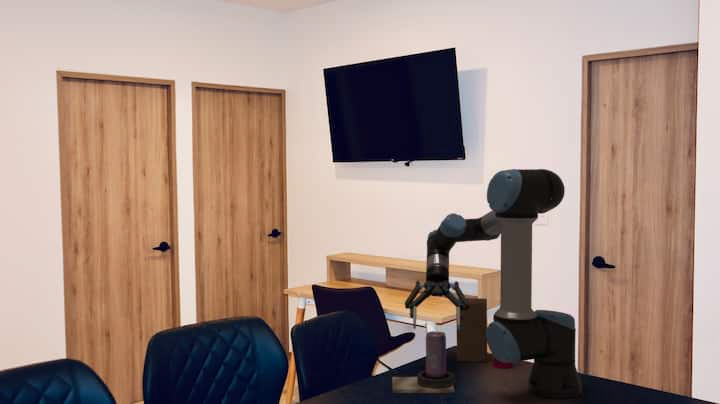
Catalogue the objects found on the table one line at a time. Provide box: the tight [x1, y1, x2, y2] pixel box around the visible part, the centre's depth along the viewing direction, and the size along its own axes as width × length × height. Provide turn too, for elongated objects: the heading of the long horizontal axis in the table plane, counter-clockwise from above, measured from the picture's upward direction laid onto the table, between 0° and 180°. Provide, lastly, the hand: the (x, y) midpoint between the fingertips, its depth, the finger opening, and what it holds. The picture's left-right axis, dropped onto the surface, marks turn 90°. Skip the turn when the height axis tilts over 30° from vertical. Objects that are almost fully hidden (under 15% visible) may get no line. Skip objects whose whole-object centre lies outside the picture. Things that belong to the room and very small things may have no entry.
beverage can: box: [425, 330, 447, 379], centre depth 203 cm, size 6×6×15 cm
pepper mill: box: [491, 313, 513, 369], centre depth 223 cm, size 7×7×20 cm
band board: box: [391, 370, 455, 394], centre depth 203 cm, size 18×12×3 cm, turn 88°
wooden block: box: [455, 297, 488, 363], centre depth 232 cm, size 10×10×20 cm
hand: (436, 326), depth 209 cm, fingers open, 13 cm apart
